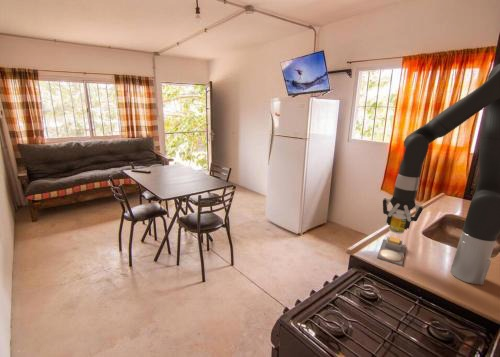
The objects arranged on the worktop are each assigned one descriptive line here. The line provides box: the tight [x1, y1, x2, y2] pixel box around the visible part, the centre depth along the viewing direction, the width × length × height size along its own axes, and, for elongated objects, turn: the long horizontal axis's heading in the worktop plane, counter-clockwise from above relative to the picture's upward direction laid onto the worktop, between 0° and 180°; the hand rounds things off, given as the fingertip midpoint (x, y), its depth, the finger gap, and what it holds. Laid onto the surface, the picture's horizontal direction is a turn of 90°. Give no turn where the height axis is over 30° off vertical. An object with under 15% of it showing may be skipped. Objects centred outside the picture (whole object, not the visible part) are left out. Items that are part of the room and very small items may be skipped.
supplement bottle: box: [388, 209, 407, 235], centre depth 102 cm, size 5×5×10 cm
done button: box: [389, 236, 401, 245], centre depth 113 cm, size 4×4×2 cm
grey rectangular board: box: [376, 236, 406, 267], centre depth 110 cm, size 9×18×3 cm, turn 146°
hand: (397, 226), depth 103 cm, fingers closed on supplement bottle, 5 cm apart
